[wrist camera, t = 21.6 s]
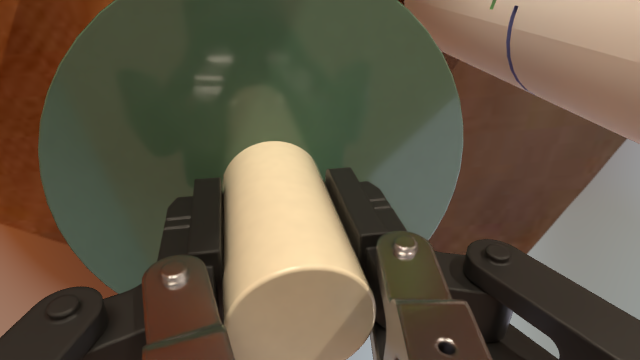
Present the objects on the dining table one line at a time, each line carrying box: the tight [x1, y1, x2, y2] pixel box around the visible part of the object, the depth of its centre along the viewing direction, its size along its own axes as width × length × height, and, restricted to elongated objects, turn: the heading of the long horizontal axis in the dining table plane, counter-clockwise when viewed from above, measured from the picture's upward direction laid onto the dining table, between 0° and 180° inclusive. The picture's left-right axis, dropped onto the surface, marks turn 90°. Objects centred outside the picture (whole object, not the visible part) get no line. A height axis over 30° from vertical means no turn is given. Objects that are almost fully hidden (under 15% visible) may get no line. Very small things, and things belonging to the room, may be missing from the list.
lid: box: [38, 0, 463, 360], centre depth 12 cm, size 13×13×7 cm
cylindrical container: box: [404, 0, 640, 144], centre depth 20 cm, size 7×7×25 cm
